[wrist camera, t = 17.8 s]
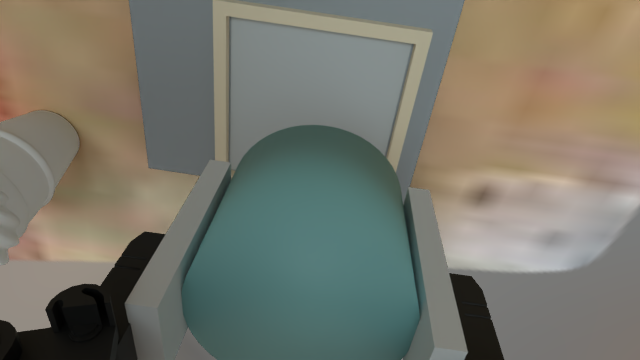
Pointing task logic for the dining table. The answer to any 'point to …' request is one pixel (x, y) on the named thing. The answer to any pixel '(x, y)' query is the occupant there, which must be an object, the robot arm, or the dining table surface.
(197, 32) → the jig board
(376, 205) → the teal egg shape
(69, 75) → the dining table surface
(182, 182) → the dining table surface
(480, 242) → the dining table surface
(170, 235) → the robot arm
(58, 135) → the soft serve ice cream cone
